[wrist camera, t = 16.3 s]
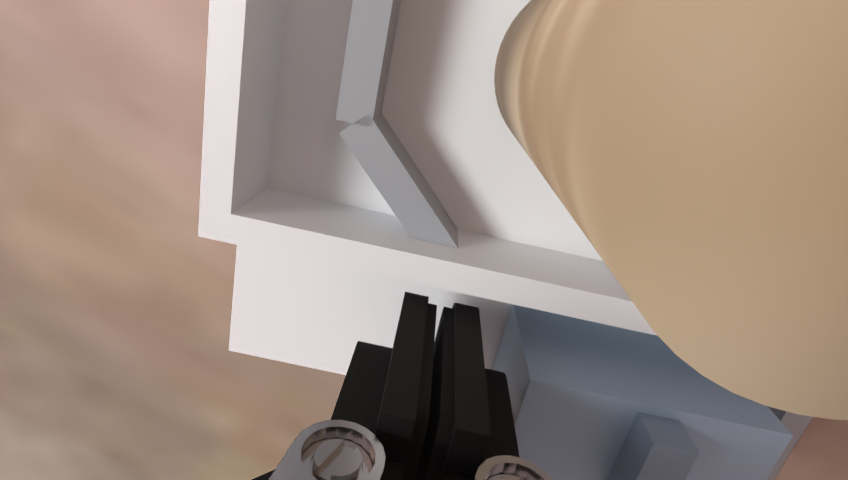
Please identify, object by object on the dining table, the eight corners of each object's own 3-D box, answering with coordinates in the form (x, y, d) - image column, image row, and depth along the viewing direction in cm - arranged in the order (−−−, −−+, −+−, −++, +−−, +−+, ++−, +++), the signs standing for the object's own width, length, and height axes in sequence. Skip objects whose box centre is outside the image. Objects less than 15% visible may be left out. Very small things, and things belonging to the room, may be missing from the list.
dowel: (520, -43, 9) (784, -431, 2) (705, -3, 9) (1677, -220, 2) (476, 143, 11) (525, 358, 3) (638, 178, 11) (1064, 468, 3)
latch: (512, 302, 12) (537, 408, 8) (713, 346, 12) (823, 469, 8) (489, 377, 13) (502, 503, 9) (678, 417, 13) (764, 557, 9)
